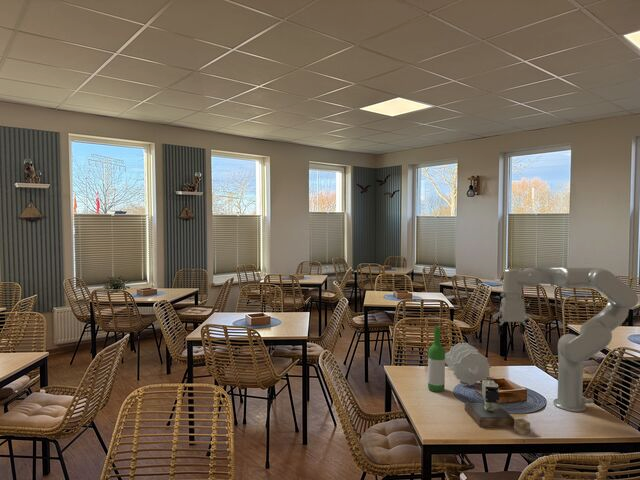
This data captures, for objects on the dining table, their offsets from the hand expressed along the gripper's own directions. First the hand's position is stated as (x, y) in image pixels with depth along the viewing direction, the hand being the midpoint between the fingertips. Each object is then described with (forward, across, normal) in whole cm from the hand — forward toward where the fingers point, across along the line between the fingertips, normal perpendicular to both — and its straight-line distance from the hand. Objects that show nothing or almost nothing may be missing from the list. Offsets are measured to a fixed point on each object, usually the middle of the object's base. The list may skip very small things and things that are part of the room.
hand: (511, 333), depth 204 cm
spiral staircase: (+31, -10, +27) cm, 42 cm away
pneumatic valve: (+27, -17, -19) cm, 37 cm away
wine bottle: (+31, -30, +13) cm, 45 cm away
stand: (+30, -18, -19) cm, 40 cm away
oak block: (+30, -10, -31) cm, 45 cm away
